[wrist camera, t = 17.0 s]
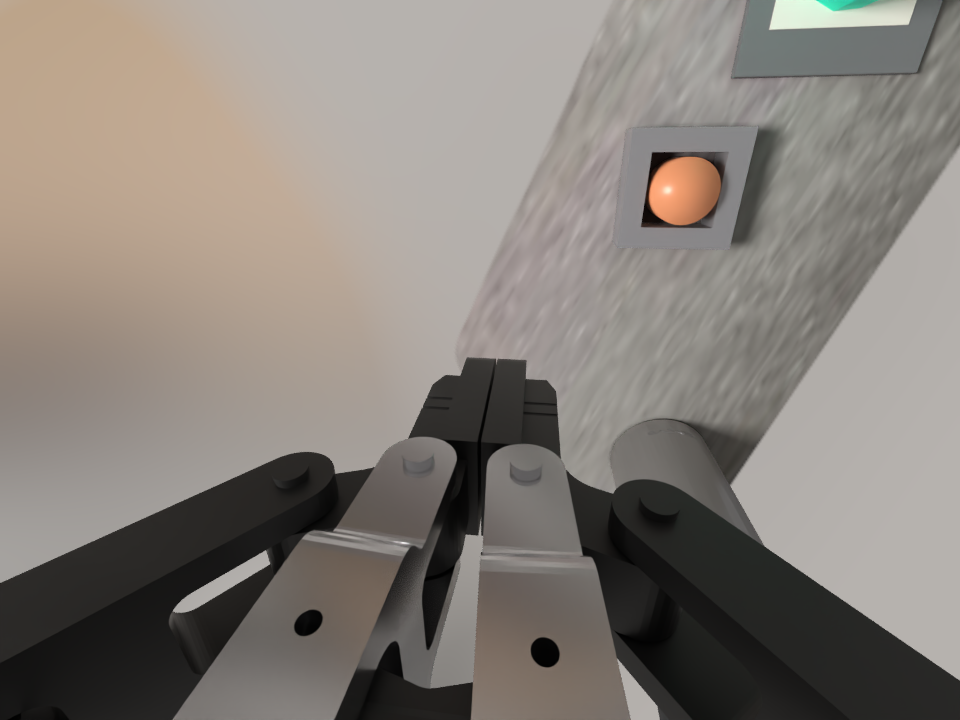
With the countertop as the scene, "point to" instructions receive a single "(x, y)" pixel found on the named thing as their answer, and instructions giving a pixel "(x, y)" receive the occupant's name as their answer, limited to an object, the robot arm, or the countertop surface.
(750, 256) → the countertop surface
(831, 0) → the candle
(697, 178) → the button
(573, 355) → the countertop surface
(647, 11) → the countertop surface
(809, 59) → the grey flat plate
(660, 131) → the button box
